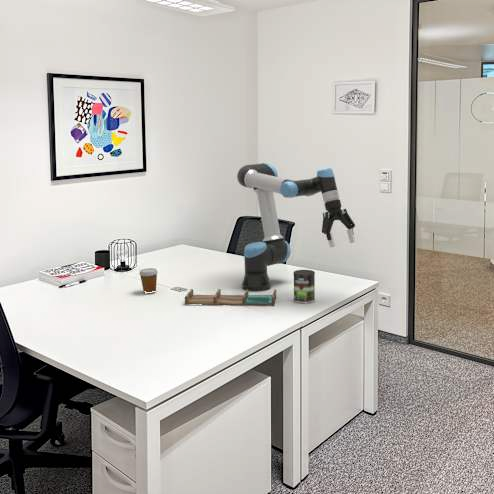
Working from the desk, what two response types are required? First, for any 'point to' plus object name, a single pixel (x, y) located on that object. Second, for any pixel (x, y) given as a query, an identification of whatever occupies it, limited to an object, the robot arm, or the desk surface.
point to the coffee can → (304, 286)
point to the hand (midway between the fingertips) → (342, 244)
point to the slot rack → (231, 299)
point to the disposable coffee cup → (149, 279)
